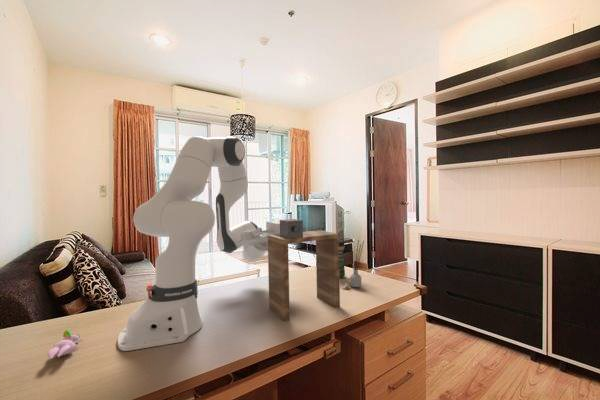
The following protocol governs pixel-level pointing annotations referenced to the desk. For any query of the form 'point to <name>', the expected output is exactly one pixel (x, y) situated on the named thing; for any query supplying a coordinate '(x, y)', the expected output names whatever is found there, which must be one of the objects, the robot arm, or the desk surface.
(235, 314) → the desk surface
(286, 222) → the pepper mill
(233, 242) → the robot arm
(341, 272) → the coffee jar
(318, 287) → the shelf
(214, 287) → the desk surface
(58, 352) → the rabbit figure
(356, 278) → the reed diffuser
